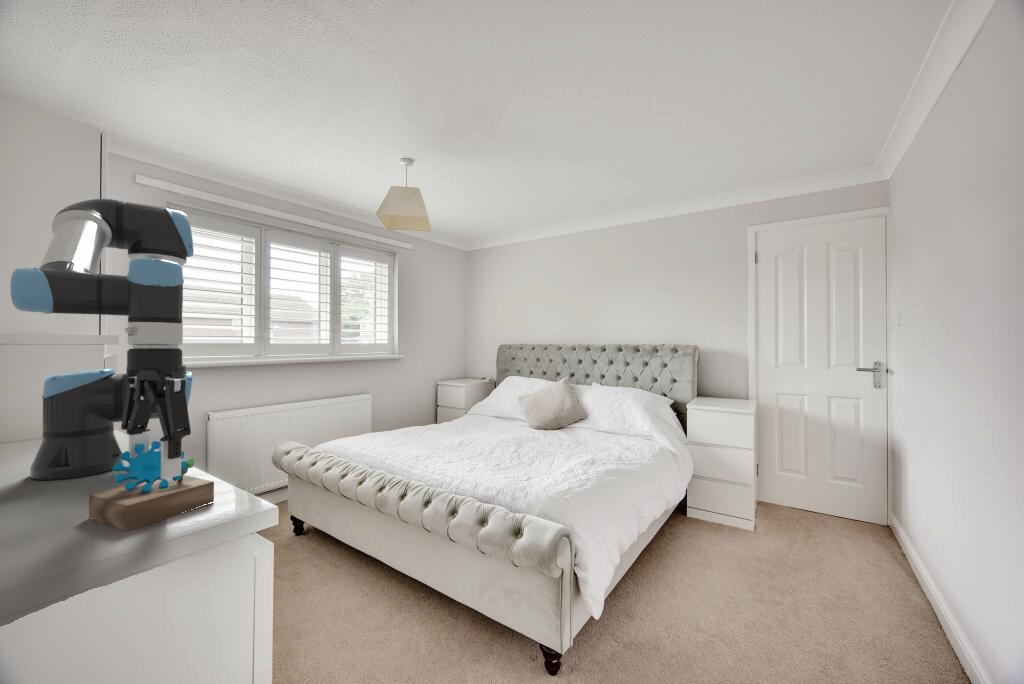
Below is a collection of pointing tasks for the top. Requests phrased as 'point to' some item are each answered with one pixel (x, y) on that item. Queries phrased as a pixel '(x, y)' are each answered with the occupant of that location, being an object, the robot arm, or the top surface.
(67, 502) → the top surface
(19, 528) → the top surface
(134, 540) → the top surface
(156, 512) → the brown rectangular block
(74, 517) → the top surface
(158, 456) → the gear
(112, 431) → the robot arm
